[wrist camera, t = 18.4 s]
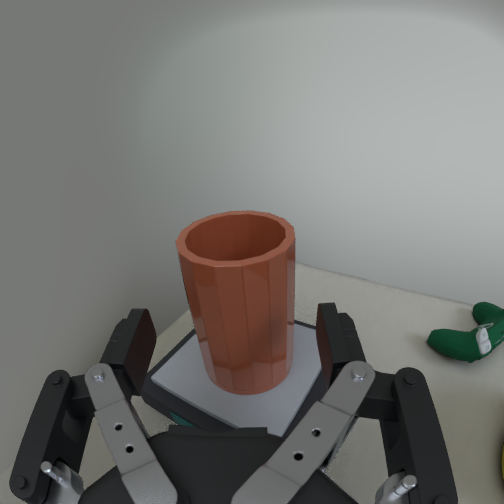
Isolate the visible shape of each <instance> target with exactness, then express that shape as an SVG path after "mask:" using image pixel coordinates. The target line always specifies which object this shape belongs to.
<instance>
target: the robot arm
mask: <svg viewBox="0 0 504 504" xmlns="http://www.w3.org/2000/svg"><path fill="white" fill-rule="evenodd" d="M316 340H317V346H318V351H319V356H320V362H321V367H322V373H323V378H324V384H325V390H326V394H325V395H324V397H323V398H322V399H321V400H317V401H316V402H315V403H314V404H313V405H312V407H311V408H310V409H309V411H308V412H307V413H306V415H305V416H304V417H303V419H302V420H301V421H300V422H299V424H298V425H297V426H296V428H295V429H294V430H293V431H292V433H291V434H290V435H289V436H288V438H287V439H285V438H283V437H280V436H278V435H274V434H270V433H268V428H267V427H242V428H238V429H233V430H228V431H223V432H212V431H208V430H204V429H201V428H197V427H194V426H182V425H169V430H168V431H166V432H162V433H159V434H156V435H154V436H152V437H150V435H149V434H148V432H147V431H146V429H145V427H144V425H143V424H142V422H141V420H140V418H139V416H138V414H137V412H136V411H135V409H134V407H133V405H132V403H131V401H130V400H131V397H132V395H135V396H140V395H141V391H142V388H143V384H144V381H145V378H146V374H147V371H148V368H149V364H150V361H151V358H152V355H153V351H154V348H155V345H156V332H155V328H154V325H153V322H152V319H151V316H150V313H149V311H148V310H147V309H132V310H131V311H130V313H129V316H128V318H127V319H122V320H121V321H120V322H119V323H118V324H117V325H116V327H115V329H114V331H113V335H112V336H111V338H110V341H109V342H108V344H107V347H106V349H105V351H104V353H103V356H102V358H101V360H100V362H99V364H95V365H93V366H91V367H90V368H89V369H88V370H87V372H86V374H84V375H79V376H73V377H70V375H69V374H68V373H67V372H66V371H64V370H57V371H54V372H52V373H51V374H50V375H49V376H48V377H47V379H46V381H45V383H44V386H43V388H42V390H41V393H40V395H39V397H38V400H37V402H36V405H35V407H34V410H33V413H32V415H31V417H30V420H29V423H28V426H27V428H26V431H25V434H24V437H23V439H22V442H21V445H20V448H19V451H18V454H17V457H16V460H15V464H14V467H13V470H12V474H11V477H10V482H9V484H10V489H11V491H12V493H13V494H14V495H15V496H16V497H18V498H20V499H21V500H23V501H25V502H26V503H27V504H358V503H357V502H356V501H355V500H354V499H353V498H352V497H350V496H349V495H348V494H347V493H346V492H345V491H343V490H342V489H341V488H340V487H339V486H338V485H337V484H336V483H334V482H333V481H332V480H331V479H330V478H329V477H328V476H327V475H326V474H325V473H324V472H325V471H326V469H327V468H328V467H329V465H330V464H331V462H332V461H333V459H334V458H335V456H336V454H337V453H338V451H339V449H340V447H341V446H342V444H343V442H344V441H345V439H346V438H347V436H348V435H349V433H350V431H351V430H352V428H353V426H354V425H355V423H356V421H357V420H358V418H359V417H364V418H372V419H379V422H380V427H381V433H382V438H383V444H384V450H385V456H386V463H387V469H388V476H389V478H388V479H387V480H386V481H385V482H384V483H383V484H382V485H381V486H380V488H379V489H378V490H377V492H376V497H375V504H458V497H457V492H456V487H455V482H454V478H453V473H452V469H451V465H450V461H449V457H448V453H447V449H446V445H445V441H444V438H443V434H442V430H441V427H440V424H439V420H438V417H437V414H436V410H435V407H434V404H433V401H432V398H431V395H430V392H429V388H428V386H427V383H426V380H425V377H424V375H423V374H422V373H421V372H420V371H419V370H417V369H415V368H410V367H406V368H402V369H400V370H399V371H398V372H397V373H396V374H387V373H381V372H377V371H375V370H374V369H373V367H372V366H371V365H369V364H368V363H367V362H366V359H365V356H364V353H363V350H362V346H361V343H360V340H359V337H358V334H357V331H356V329H355V325H354V322H353V320H352V319H351V318H350V316H349V315H348V314H347V313H338V312H337V309H336V305H335V303H321V304H318V309H317V321H316ZM93 417H96V420H97V422H98V425H99V427H100V430H101V432H102V434H103V437H104V439H105V441H106V444H107V446H108V448H109V450H110V453H111V455H112V457H113V459H114V461H115V463H116V466H115V467H113V468H112V469H111V470H110V471H108V472H107V473H106V474H105V475H103V476H102V477H101V478H100V479H98V480H97V481H96V482H95V483H93V484H92V485H91V486H89V487H88V488H87V489H86V490H85V491H84V488H83V481H82V478H81V477H80V475H79V469H80V465H81V461H82V457H83V453H84V449H85V445H86V441H87V437H88V433H89V430H90V426H91V422H92V419H93Z"/></svg>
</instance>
